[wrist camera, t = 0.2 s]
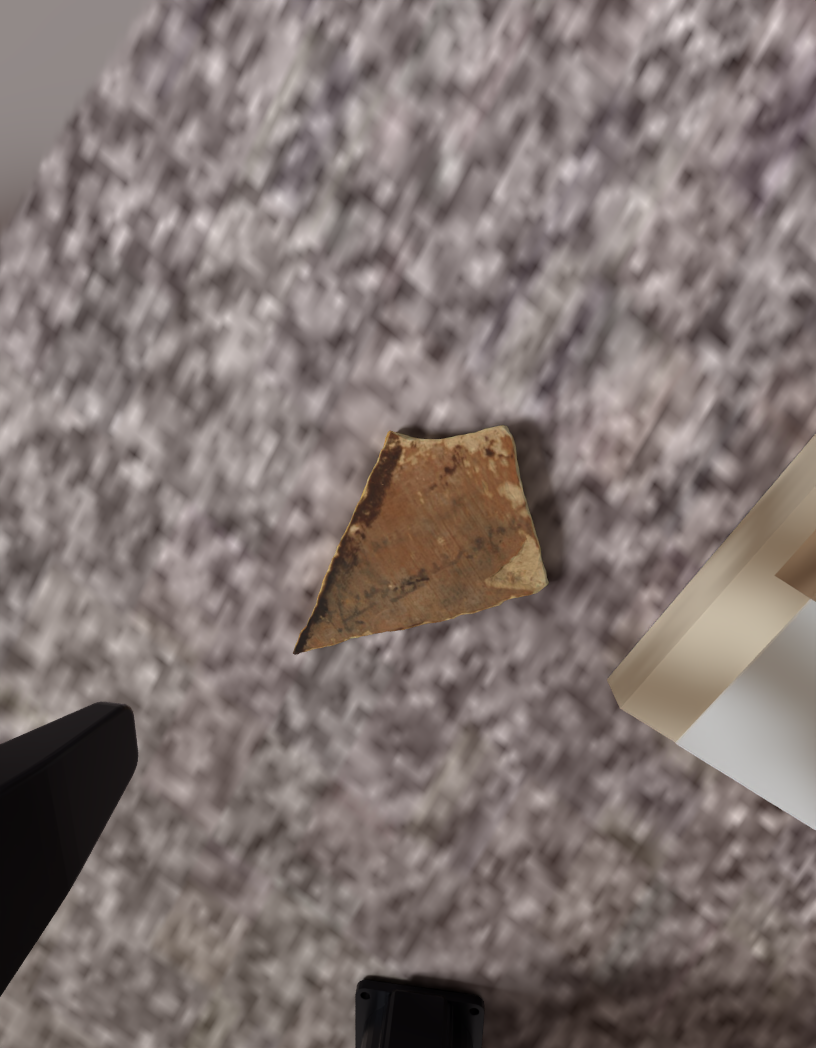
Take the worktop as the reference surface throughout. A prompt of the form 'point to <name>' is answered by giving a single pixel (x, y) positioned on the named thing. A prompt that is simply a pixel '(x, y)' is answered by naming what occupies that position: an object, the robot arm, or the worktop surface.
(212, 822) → the worktop surface
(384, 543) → the shard
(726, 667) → the beige tray
